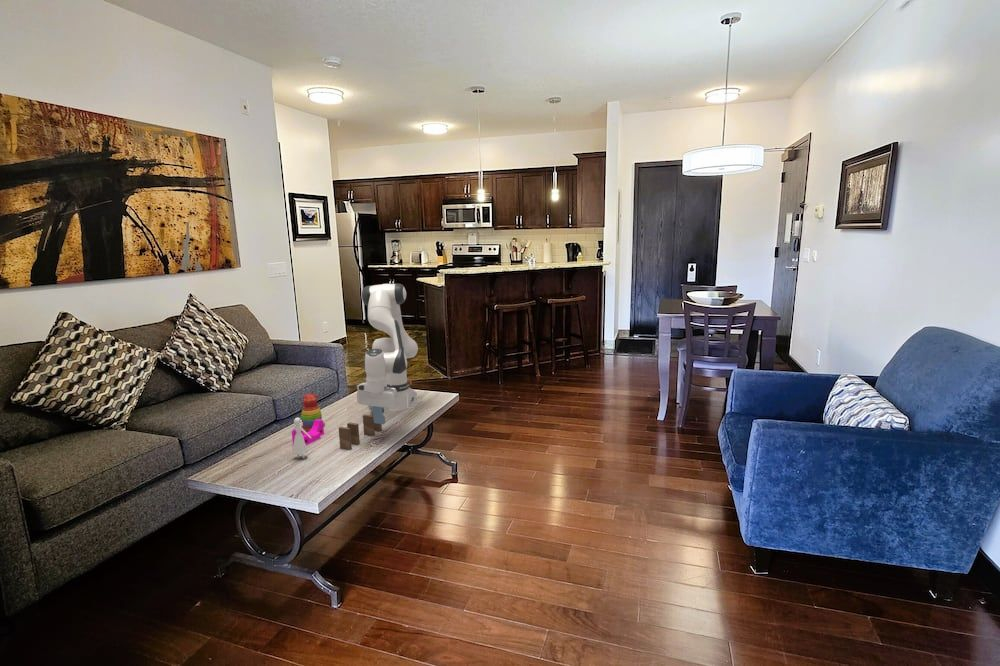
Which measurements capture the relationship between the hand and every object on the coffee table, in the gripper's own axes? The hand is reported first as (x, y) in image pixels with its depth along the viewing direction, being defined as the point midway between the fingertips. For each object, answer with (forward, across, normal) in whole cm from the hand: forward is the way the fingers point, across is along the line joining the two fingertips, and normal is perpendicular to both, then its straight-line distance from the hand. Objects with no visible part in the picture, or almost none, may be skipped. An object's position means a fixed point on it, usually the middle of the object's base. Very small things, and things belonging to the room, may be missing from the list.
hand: (379, 415), depth 213 cm
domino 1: (+13, +10, +12) cm, 20 cm away
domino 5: (+13, +10, -10) cm, 20 cm away
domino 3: (+13, +10, -5) cm, 17 cm away
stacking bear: (+14, +42, -2) cm, 44 cm away
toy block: (+13, +33, +9) cm, 36 cm away
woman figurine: (+13, +22, +26) cm, 36 cm away
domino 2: (+13, +10, +6) cm, 18 cm away
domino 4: (+4, 0, 0) cm, 4 cm away
